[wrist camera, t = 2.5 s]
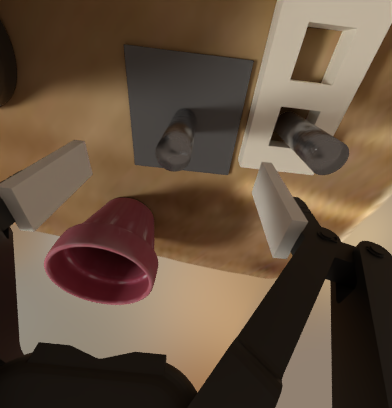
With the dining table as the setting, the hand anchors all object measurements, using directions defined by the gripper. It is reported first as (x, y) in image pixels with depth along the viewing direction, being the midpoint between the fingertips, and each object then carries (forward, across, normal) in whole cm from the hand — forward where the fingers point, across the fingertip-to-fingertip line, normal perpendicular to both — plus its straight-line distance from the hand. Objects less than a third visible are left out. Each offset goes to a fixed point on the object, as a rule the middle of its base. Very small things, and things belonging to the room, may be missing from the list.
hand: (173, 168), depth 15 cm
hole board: (+13, +13, +5) cm, 19 cm away
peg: (+13, 0, 0) cm, 13 cm away
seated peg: (+13, +13, +1) cm, 18 cm away
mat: (+13, 0, 0) cm, 13 cm away
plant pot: (+14, -9, -18) cm, 24 cm away
